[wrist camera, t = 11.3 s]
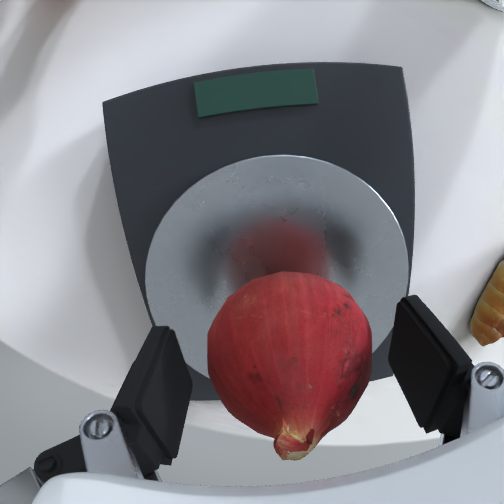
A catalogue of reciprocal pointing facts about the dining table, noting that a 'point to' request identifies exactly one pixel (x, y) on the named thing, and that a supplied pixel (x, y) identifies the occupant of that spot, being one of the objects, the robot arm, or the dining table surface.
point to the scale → (259, 144)
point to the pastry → (490, 310)
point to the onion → (290, 358)
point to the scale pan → (272, 243)
